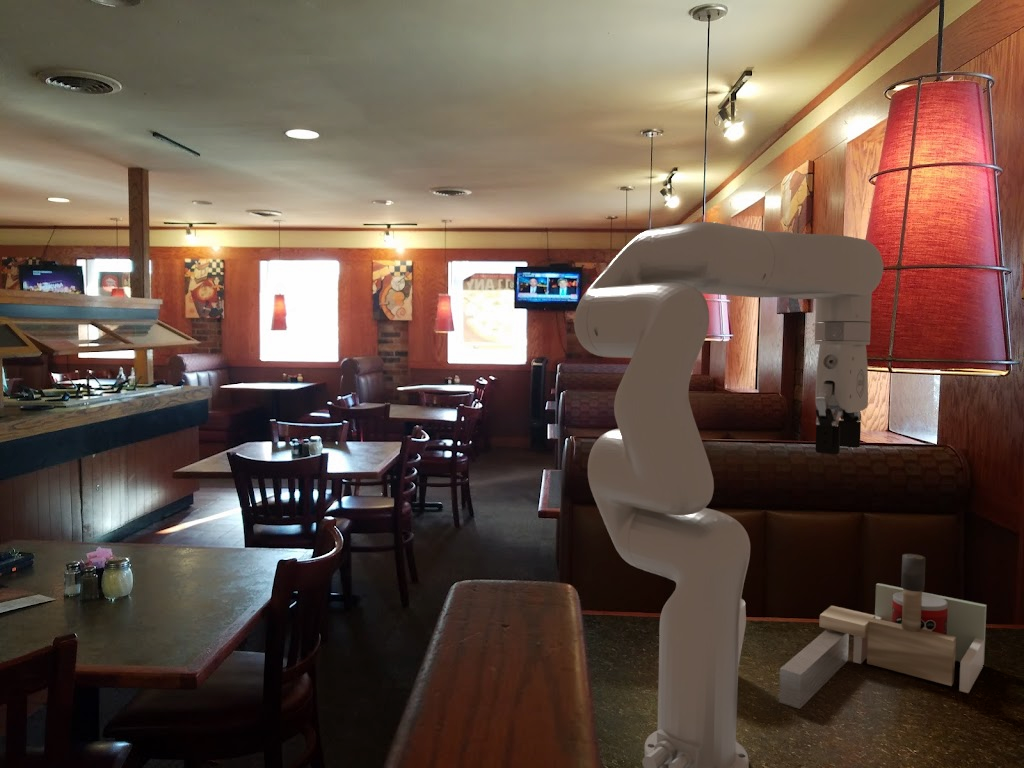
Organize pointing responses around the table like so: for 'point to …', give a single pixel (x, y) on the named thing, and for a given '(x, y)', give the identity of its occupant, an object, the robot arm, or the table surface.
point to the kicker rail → (812, 667)
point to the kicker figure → (901, 632)
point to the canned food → (925, 612)
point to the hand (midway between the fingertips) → (838, 449)
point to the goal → (961, 623)
